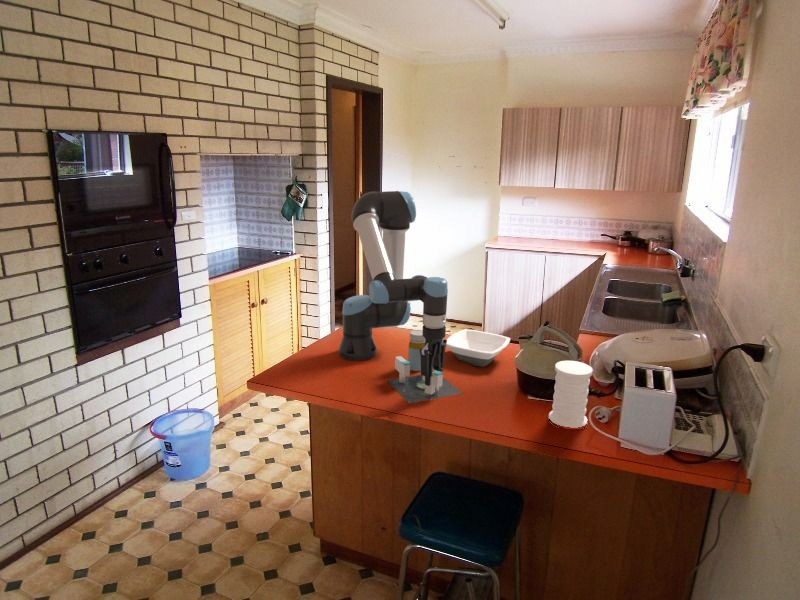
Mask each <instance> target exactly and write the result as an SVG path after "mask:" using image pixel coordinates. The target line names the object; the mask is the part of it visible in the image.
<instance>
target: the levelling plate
mask: <svg viewBox="0 0 800 600" xmlns="http://www.w3.org/2000/svg"><path fill="white" fill-rule="evenodd" d="M422 378H423V376H422V375H421V374H418V375H412V376H411V375H410V376H405V382H404V383H400V382H399V378H395V379H394V378H393V379H389V380H386V382H387V383H388V384H389V385H390V386H391V387H392V388H393V389H394V390H395V391H396V392H397V393H398V394H399V395H400V396H401V397H402V398H403V399H404V400H405V401H406V402H407V403H408V404H413V403H418V402H419V403H420V402H424V401H429V400H435V399H440V398H445V397H450V396H455V395H461V394H463V392H462V391H461V390H460V389H459V388H458V387H456V386H454V385H453V384H452V383H451V382H450V381H448V380H447V379H446V378H445V377H443V381H442V386H441V387H439V390H438V391H437V390H435V394H432V395H430V394H427V393H425V381H424V380H422Z"/></svg>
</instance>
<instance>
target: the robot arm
mask: <svg viewBox="0 0 800 600" xmlns="http://www.w3.org/2000/svg"><path fill="white" fill-rule="evenodd" d="M416 217H417V207H416V204H415V200H414V198H413V195H412V194H411V193H410V192H408V191H399V190H391V191H390V190H389V191H387V190H386V191H369V192H366V193H364V194H362V195H361V196H359V198H358V199H357V200H356V202H355V203H354V205H353V207H352V211H351V223H352V226H353V229H354V231H356V232H357V233H358V236H359V240H360V243H361V246H362V249H363V253H364V256H365V259H366V263H367V267H368V269H369V273H370V276H371V278H372V281H371V282H370V283H369V285H368V293H369V295H367V294H359V295H354V296H351V297H348V298H346V299H345V300H344V301H343V303H342V311H341V314H342V338H341V341H340V344H339V347H338V356H339V357H340V358H342V359H344V360H347V361H353V362H354V361H355V362H356V361H357V362H358V361H367V360H370V359H373V358H375V357H376V355H377V346H376V343H375V340H374V337H373V329H379V328H390V327H393V328H394V327H395V328H396V327H398V326H404V325H406V324H407V323H408V321H409V319H410V316H411V310H412V309H411V302H416V301H421V302H422V303H423V305H422V306H423V307H422V308H423V310H422V330H423V333H422V335H423V337H424V338H425V339H426V340H425V347H424V348H423V349H422V348H420V355H421V371H420V375H422V376H425V393H427V394H430V395H432V394H433V376H432V371H433V369H434V370H436V371H440V372H442V373H444V372H443V371H444V366H445V358H446V357H445V356H446V347H447V346H446V343H447V340H446V339H447V338H446V339H445V337H446V335H447V334H446V332H447V331H446V330H447V327H446V325H447V309H448V306H447V305H448V294H449V293H448V292H449V289H448V281H447V279H446V278H443V277H442V278H441V276H430V277H427V276H425V275H421V274H417V275H414V276H411V278H404V266H405V263H404V262H405V247H406V246H405V244H406V233H407V231H408V230H410V228H411V225H410V224H412V223H414V222H415V220H416ZM381 231H382V233H381ZM435 390H437V391H438V390H439V387H438V388H437V387H435Z"/></svg>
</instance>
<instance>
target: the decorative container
mask: <svg viewBox="0 0 800 600" xmlns="http://www.w3.org/2000/svg"><path fill="white" fill-rule="evenodd" d="M593 370H594V369H593V367H592V366H590V365H588V364H586V363H584V362H581V361H577V360H561V361H560V360H559V361H558V362H556V363H555V366H554V371H555V372H556V374H555V376H554V379H555V380H554V381H555V383H554V385H553V386H554V387H553V388H554V389H553V390H554V393H553V396H552V398H553V403H552V404H551V406H552V407H551V408H552V410H551V411H549V413H548V420H549V419H550V420H551V421H552V422H553V423H555V424H557V425H560V426H564V427H570V428H578V427H582V426H585V425H586V424H587V425H588V422H589V421H588V417H587V416H586V413H587V404H588V395H589V393H590V392H589V386H590V383H591V381H590V380H591V379H590V378H591V376H593V372H594V371H593ZM587 421H588V422H587Z"/></svg>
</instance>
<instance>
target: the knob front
mask: <svg viewBox="0 0 800 600" xmlns="http://www.w3.org/2000/svg"><path fill="white" fill-rule="evenodd" d="M432 376H433V394H435V387H437V388H438V387H441V386H442V381H443V378H444V372H440V371H436V370H434V369H433V371H432ZM422 380H424V381H425V376H423V378H422Z"/></svg>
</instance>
